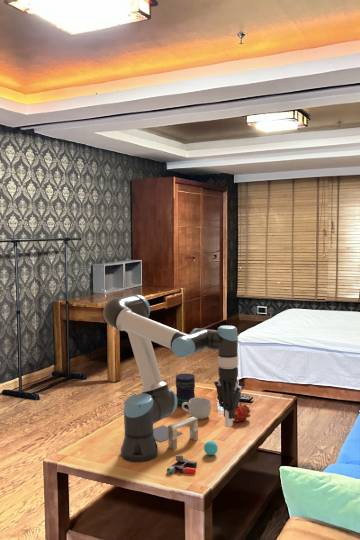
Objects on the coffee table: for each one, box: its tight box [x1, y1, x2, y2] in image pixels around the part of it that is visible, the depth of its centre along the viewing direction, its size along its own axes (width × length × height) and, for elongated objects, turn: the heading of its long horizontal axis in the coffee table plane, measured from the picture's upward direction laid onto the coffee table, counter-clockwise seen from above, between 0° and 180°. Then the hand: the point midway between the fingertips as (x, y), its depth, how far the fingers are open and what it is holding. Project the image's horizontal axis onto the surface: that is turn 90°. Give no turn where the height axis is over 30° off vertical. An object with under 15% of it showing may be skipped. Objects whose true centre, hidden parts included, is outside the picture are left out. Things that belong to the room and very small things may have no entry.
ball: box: [203, 440, 219, 456], centre depth 217 cm, size 6×6×6 cm
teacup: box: [181, 396, 212, 420], centre depth 257 cm, size 14×11×8 cm
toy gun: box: [166, 454, 198, 475], centre depth 203 cm, size 10×12×5 cm
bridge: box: [167, 416, 199, 450], centre depth 228 cm, size 3×14×9 cm, turn 133°
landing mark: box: [153, 425, 183, 443], centre depth 239 cm, size 13×13×1 cm
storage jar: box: [175, 373, 196, 409], centre depth 274 cm, size 10×10×15 cm
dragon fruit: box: [233, 402, 251, 423], centre depth 252 cm, size 8×8×12 cm
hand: (228, 425), depth 208 cm, fingers closed
